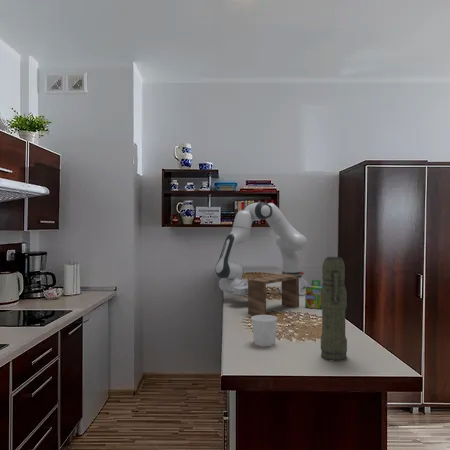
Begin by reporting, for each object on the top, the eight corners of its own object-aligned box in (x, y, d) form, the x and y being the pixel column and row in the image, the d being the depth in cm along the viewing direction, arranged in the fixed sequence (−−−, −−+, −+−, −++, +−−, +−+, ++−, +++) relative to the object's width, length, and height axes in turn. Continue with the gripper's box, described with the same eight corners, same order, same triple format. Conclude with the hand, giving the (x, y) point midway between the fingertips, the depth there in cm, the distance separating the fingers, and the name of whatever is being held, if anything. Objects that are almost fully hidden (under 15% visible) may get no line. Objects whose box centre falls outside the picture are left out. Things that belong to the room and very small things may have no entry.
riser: (284, 304, 221) (284, 273, 221) (299, 307, 214) (298, 275, 213) (248, 313, 200) (247, 279, 200) (262, 317, 193) (262, 281, 193)
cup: (260, 337, 160) (260, 313, 160) (282, 342, 153) (281, 317, 153) (246, 343, 152) (246, 318, 152) (268, 349, 146) (267, 322, 146)
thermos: (341, 350, 143) (341, 255, 143) (351, 362, 131) (351, 259, 131) (317, 350, 143) (316, 255, 143) (325, 362, 131) (325, 259, 131)
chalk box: (305, 307, 212) (304, 280, 212) (309, 304, 220) (309, 278, 220) (322, 309, 208) (321, 281, 208) (326, 306, 216) (326, 279, 216)
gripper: (228, 284, 217) (246, 287, 207) (253, 280, 231) (271, 282, 221) (228, 295, 217) (246, 299, 207) (253, 290, 232) (271, 294, 222)
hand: (259, 290), depth 215 cm, fingers closed on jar, 5 cm apart
